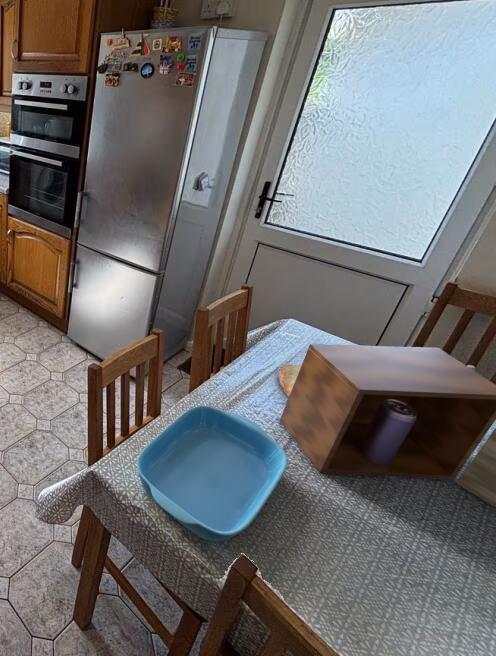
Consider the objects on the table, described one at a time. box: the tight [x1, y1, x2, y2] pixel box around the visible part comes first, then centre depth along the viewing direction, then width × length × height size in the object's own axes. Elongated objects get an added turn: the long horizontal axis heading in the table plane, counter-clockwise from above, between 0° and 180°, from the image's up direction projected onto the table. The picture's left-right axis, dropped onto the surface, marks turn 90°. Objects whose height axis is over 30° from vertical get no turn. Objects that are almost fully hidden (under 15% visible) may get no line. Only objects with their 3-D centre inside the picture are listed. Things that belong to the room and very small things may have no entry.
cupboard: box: [279, 343, 496, 481], centre depth 95 cm, size 16×28×24 cm, turn 85°
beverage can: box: [358, 399, 418, 465], centre depth 93 cm, size 6×6×15 cm
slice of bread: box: [278, 363, 302, 398], centre depth 117 cm, size 18×18×4 cm
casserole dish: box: [136, 405, 289, 542], centre depth 91 cm, size 37×22×7 cm, turn 128°
